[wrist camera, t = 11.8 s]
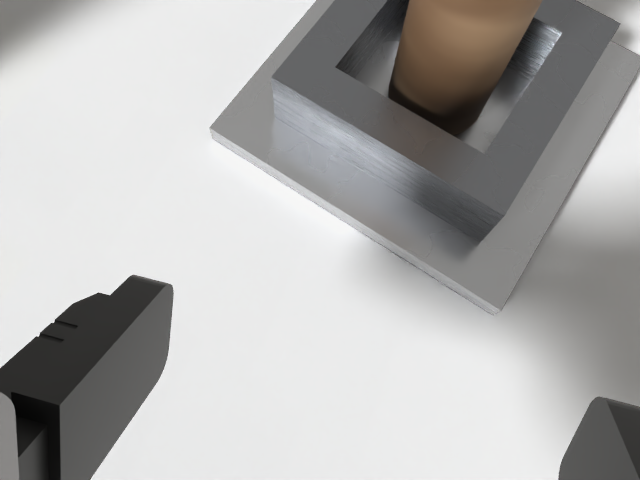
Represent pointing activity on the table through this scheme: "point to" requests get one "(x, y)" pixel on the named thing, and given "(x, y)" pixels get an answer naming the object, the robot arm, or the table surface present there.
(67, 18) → the table surface
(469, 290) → the collar
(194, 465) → the table surface
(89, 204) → the table surface
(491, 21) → the pin
